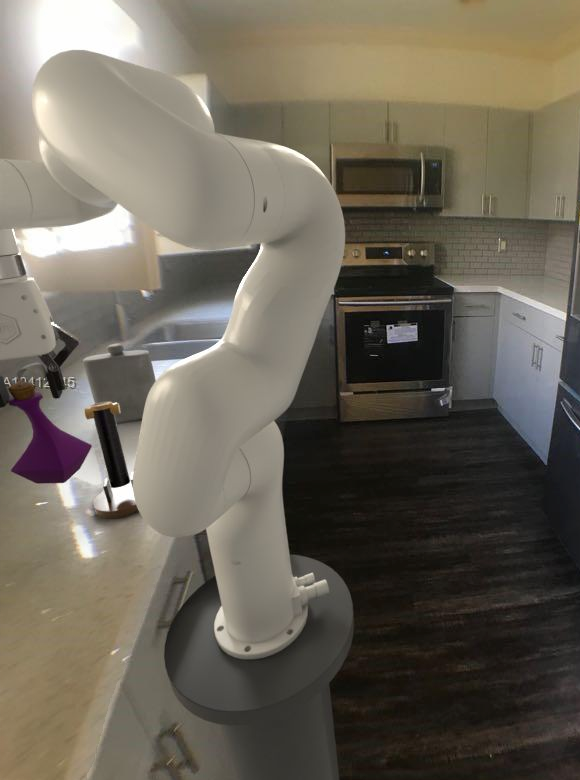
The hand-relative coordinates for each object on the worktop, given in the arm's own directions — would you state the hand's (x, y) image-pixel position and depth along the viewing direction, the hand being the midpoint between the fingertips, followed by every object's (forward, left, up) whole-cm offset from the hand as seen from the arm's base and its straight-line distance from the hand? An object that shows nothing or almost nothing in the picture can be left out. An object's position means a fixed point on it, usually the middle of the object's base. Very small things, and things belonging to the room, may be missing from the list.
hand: (31, 398), depth 65 cm
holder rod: (-6, -14, -15) cm, 21 cm away
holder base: (-6, -11, -26) cm, 29 cm away
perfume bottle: (0, 0, -13) cm, 13 cm away
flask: (-6, -53, -27) cm, 59 cm away
